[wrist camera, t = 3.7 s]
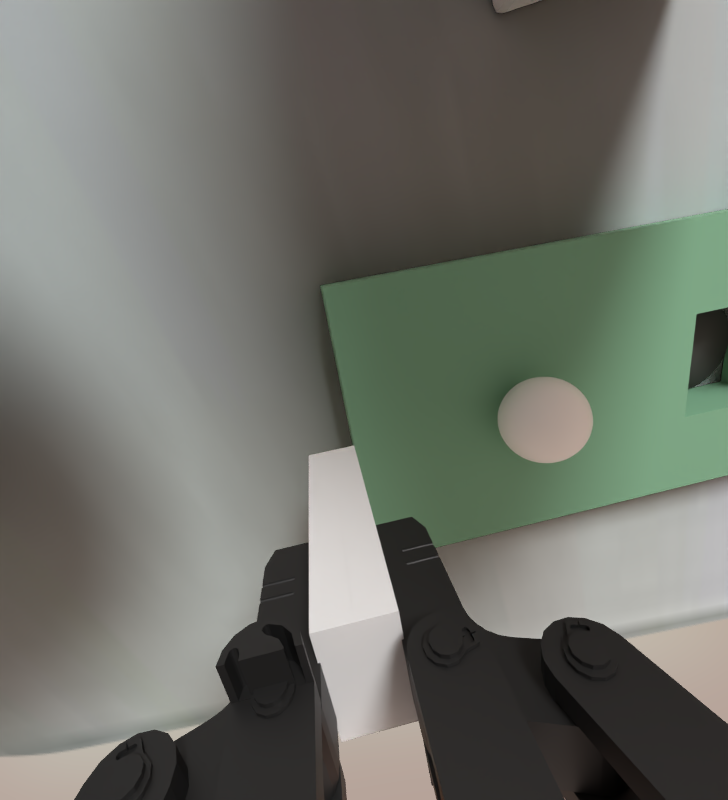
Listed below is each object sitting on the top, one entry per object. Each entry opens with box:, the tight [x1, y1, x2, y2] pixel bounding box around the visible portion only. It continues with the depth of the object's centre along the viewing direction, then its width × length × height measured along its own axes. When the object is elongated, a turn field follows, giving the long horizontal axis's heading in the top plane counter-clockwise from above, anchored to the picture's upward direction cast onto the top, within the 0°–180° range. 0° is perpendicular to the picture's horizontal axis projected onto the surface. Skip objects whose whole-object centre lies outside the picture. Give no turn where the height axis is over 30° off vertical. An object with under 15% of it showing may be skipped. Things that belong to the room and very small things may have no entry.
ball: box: [498, 377, 593, 463], centre depth 14 cm, size 3×3×3 cm
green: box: [320, 209, 728, 548], centre depth 17 cm, size 22×12×2 cm, turn 100°
